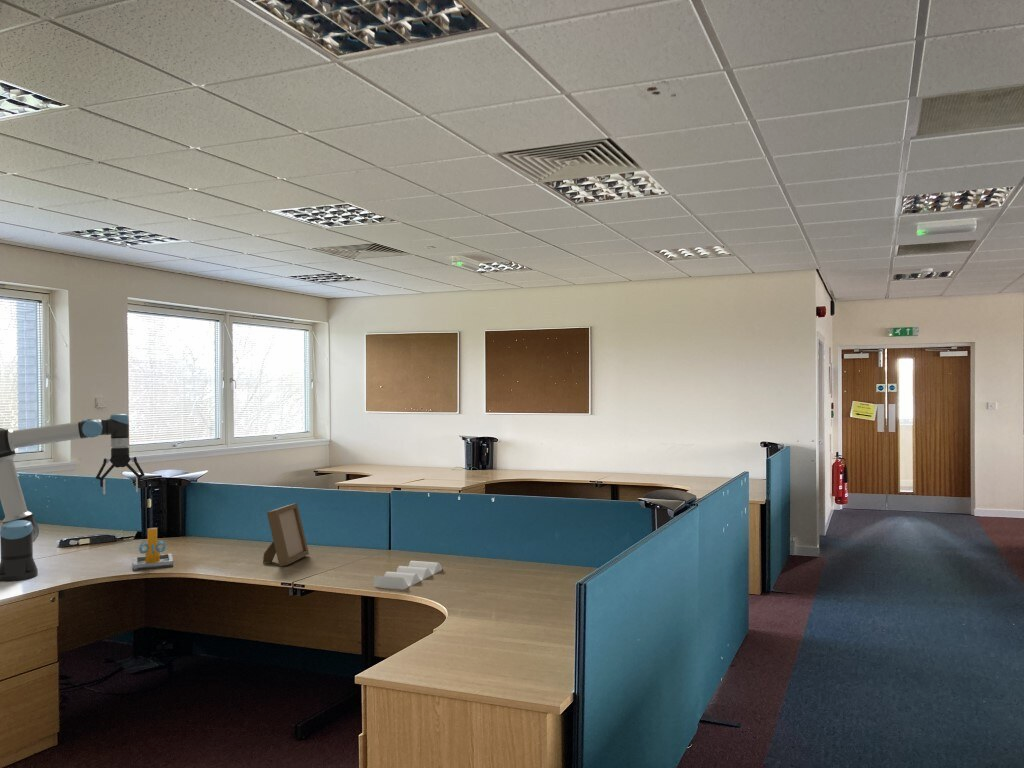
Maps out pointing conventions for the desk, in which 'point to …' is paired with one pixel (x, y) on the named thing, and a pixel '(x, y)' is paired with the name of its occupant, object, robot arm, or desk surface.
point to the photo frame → (286, 536)
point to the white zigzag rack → (407, 575)
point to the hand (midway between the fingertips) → (120, 493)
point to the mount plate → (164, 561)
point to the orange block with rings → (152, 547)
